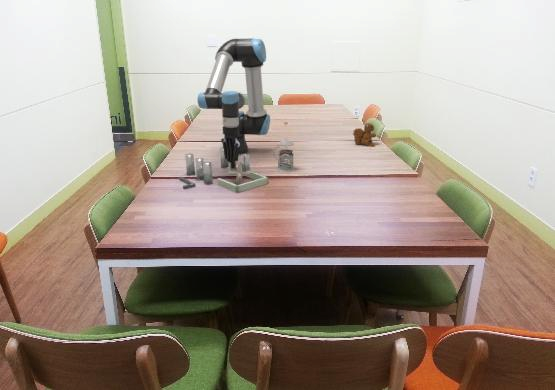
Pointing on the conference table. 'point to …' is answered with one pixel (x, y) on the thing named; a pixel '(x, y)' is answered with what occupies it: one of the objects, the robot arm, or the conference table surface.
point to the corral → (257, 182)
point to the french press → (285, 157)
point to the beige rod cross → (238, 173)
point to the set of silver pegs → (206, 167)
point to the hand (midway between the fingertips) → (231, 174)
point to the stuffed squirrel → (364, 135)
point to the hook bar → (190, 184)
